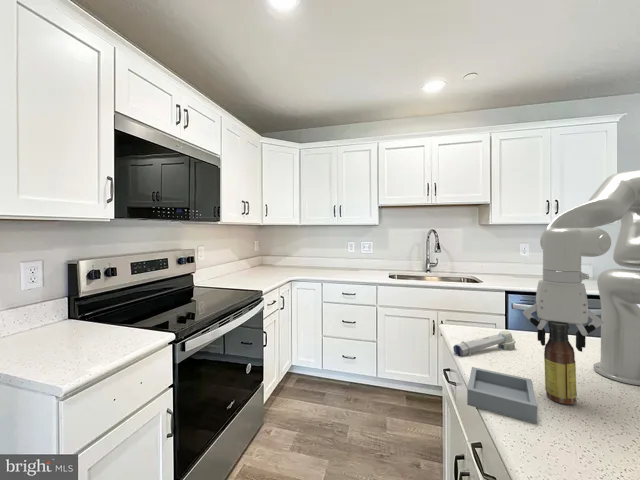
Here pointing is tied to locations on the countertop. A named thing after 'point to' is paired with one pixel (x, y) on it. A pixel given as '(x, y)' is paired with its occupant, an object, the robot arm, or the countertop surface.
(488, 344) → the electric cleaning brush
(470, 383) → the dock
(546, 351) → the sauce bottle
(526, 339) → the countertop surface
